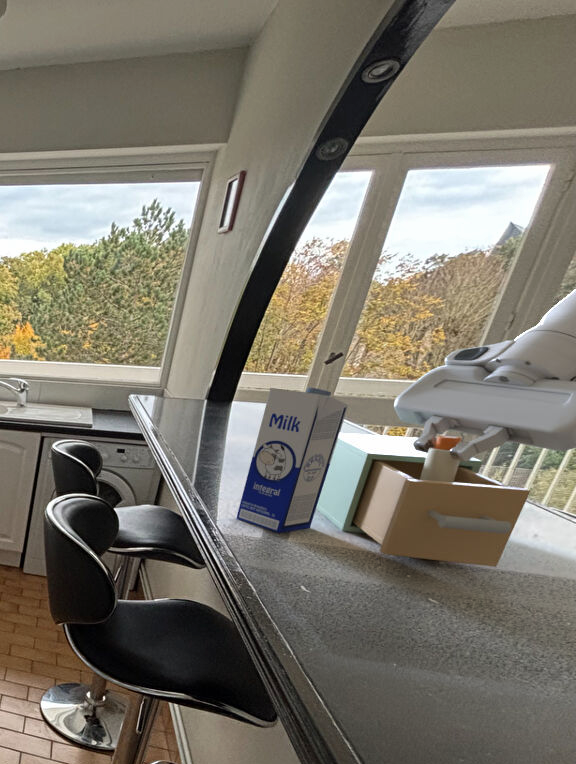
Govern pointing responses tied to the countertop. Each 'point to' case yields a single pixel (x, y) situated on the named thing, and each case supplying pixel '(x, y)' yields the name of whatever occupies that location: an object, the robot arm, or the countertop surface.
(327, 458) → the milk carton
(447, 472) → the glue
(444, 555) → the drawer
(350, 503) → the cabinet
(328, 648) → the countertop surface
